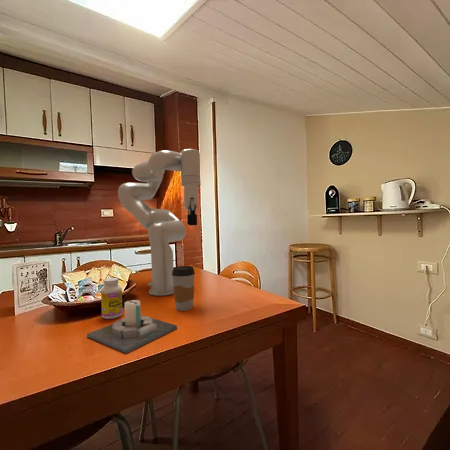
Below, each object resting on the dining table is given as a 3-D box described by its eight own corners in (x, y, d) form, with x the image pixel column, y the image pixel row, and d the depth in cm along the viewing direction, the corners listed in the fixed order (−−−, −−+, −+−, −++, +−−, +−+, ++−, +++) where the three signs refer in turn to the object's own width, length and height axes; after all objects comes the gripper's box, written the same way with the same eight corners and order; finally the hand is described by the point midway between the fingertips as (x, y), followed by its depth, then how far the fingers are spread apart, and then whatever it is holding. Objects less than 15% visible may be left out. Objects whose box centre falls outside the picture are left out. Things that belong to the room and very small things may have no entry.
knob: (122, 330, 82) (121, 302, 82) (134, 325, 86) (134, 298, 86) (133, 334, 79) (132, 305, 79) (145, 328, 83) (145, 301, 83)
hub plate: (87, 337, 81) (86, 326, 80) (138, 317, 95) (138, 308, 95) (125, 353, 70) (125, 341, 70) (177, 328, 85) (176, 318, 85)
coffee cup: (199, 305, 106) (198, 266, 106) (189, 313, 98) (188, 270, 98) (179, 303, 109) (178, 265, 108) (168, 310, 101) (167, 269, 100)
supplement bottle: (107, 321, 93) (105, 282, 92) (98, 316, 97) (97, 279, 97) (126, 315, 97) (124, 278, 97) (117, 311, 102) (115, 276, 101)
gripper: (180, 184, 119) (182, 224, 119) (181, 178, 102) (183, 226, 102) (198, 183, 120) (199, 224, 121) (202, 178, 103) (203, 225, 104)
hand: (192, 224), depth 112 cm, fingers open, 9 cm apart
